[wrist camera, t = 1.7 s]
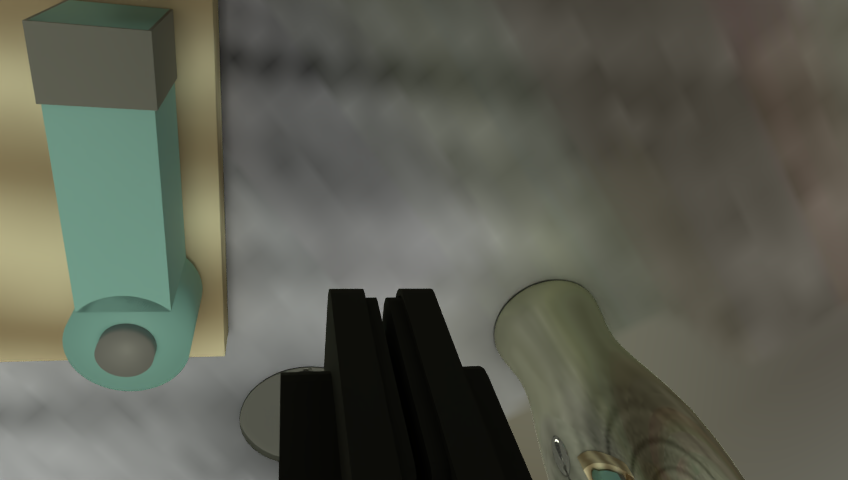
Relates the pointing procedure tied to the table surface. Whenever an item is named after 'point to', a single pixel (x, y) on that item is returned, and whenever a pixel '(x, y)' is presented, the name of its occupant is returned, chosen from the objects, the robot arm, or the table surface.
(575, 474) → the beer glass
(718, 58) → the table surface
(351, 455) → the robot arm
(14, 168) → the seat
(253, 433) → the silver goblet
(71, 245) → the leg
